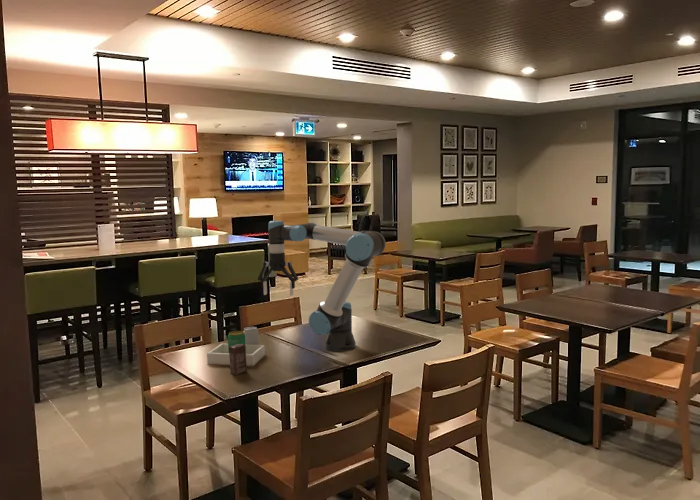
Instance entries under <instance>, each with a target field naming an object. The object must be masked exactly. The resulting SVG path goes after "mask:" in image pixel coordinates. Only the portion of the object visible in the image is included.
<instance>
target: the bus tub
mask: <svg viewBox="0 0 700 500" xmlns="http://www.w3.org/2000/svg"><path fill="white" fill-rule="evenodd" d="M265 356H266V345H264V344H259V345H247V344H246V366H248V367H254V366H256V364H257V363H259V362H260V361H261V359H263V358H264V357H265ZM206 358H207V362H206V363H207V365H208V364H209V365H221V366H222V365H223V366H224V365H225V366H230V356H229V353H228V343H220V344H219V345H217V346H216V347H214V348H213V349H211V350H209V351H208V352H207V353H206Z"/></svg>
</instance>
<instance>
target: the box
mask: <svg viewBox="0 0 700 500" xmlns="http://www.w3.org/2000/svg"><path fill="white" fill-rule="evenodd" d="M229 356H230V365H229V366H230V374H232V375H233V376H234V375H236V376H238V375H241V374H242V373H245V372H247V371H248V369H247V368H248V367H247V366H246V351H245V345H243V344H237V345H234V346H230V347H229Z"/></svg>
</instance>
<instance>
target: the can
mask: <svg viewBox="0 0 700 500" xmlns="http://www.w3.org/2000/svg"><path fill="white" fill-rule="evenodd" d="M243 329H244V330H243V332H244V334H245V343H246V344H247V345H260V340H259V339H260V337H259V330H258V328H257V326H247V327H244V328H243Z"/></svg>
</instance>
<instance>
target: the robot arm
mask: <svg viewBox="0 0 700 500" xmlns="http://www.w3.org/2000/svg"><path fill="white" fill-rule="evenodd" d="M267 227H268V229H267V230H268V250H269V251H268V252H269V257H268V258H269V262H268V261H264V262H262V263H263V264H262V268H261V271H260V273H259V274H258V277H257V281H260V282H261V288H262V289H263V296H267V294H268V287H267V286H268V285H267V283H268V282H267V279H268V278H269V276H270V275H271V274H272V272H282V273H283V274H284V275H285V276H286V277H287V278H288V279H289V281H290V282H289V296H293V295H294V289H295V288H296V284H295V283H296V282H297V281H298V280H299V277H298V276H297V273H296V271H295V270H294V267H293V265H292V262H291V261H289V262H286V257H285V256H286V255H285V254H286V253H285V251H286V249H285V241H289V242H302V241H304V240H308V239H309V240H313V241H319V242H325V243H331V244H336V245H341V246H345V255H344V257H345V261H344V262H343V265H342V267H341V269H340V271H339V273H338V274H337V277H336V278H335V280H334V283H333V285H332V287H331V288H330V290H329V292H328V294H327V296H326V298H325V300H322V301H321V302H320V303H319V305H318V307H317V308H316V310H314V311H313V312H311V313H310V315H309V318H308V324H309V327H310V330H311V331H312V332H313V333H315V334H316V335H319V336H323V335H327V337H326V339H325V344H324V348H325V349H326V350H327V351H332V352H333V351H334V352H347V351H351V350H354V349H356V346H357V345H356V340H355V337H354V334H353V324H352V323H353V322H352V321H353V319H352V317H353V316H352V315H353V312H352V311H353V310H352V303H351V302H349V301H347V299H348V298H349V295H350V294H351V291H352V290H353V288H354V287H355V284H356V283H357V281H358V279H359V276H360V275H361V273H362V271H363V269H366V268H368V267H369V265H370V263H371V261H372V259H373V258H375V257H378V256H380V255H381V254H382V253H383V252H384V251H385V249H386V243H387V242H386V239H385V237H384V235H383V234H382V233H380V232H379V231H373V230H372V231H370V230H362V231H355V230H350V229H344V228H338V227H333V226H332V227H331V226H327V225H326V226H325V225H320V224H316V223H315V222H307V223H302V224H300V223H299V224H292V225H291V224H290V225H285V223H284V220H270V221H269V222H268V226H267ZM267 267H269V269H268V271H267ZM286 267H287V268H288V270H289V271H288V270H287V268H286ZM266 271H267V272H266Z"/></svg>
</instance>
